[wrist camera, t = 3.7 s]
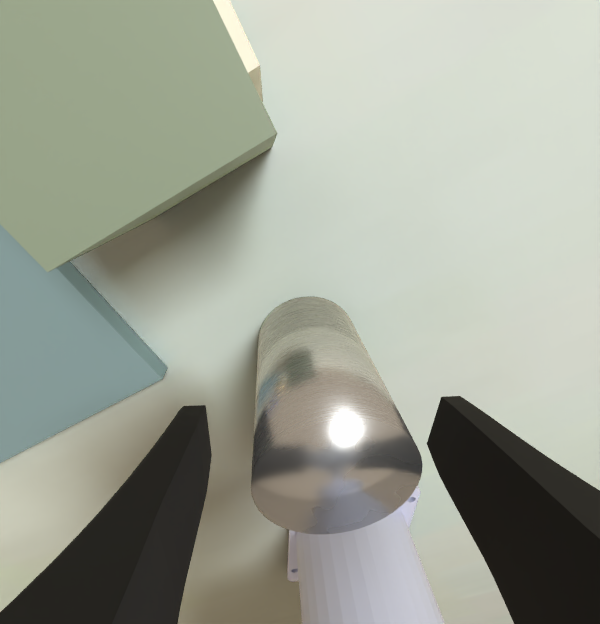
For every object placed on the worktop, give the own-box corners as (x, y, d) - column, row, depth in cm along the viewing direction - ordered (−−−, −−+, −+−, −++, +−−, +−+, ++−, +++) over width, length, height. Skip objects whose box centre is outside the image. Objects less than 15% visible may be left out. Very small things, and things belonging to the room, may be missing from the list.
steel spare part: (348, 378, 15) (404, 527, 9) (259, 380, 15) (253, 540, 9) (359, 296, 13) (440, 415, 7) (257, 296, 13) (248, 423, 7)
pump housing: (152, 218, 11) (47, 272, 6) (-23, -19, 8) (-562, -352, 3) (283, 139, 11) (300, 118, 5) (144, -151, 8) (-158, -915, 2)
